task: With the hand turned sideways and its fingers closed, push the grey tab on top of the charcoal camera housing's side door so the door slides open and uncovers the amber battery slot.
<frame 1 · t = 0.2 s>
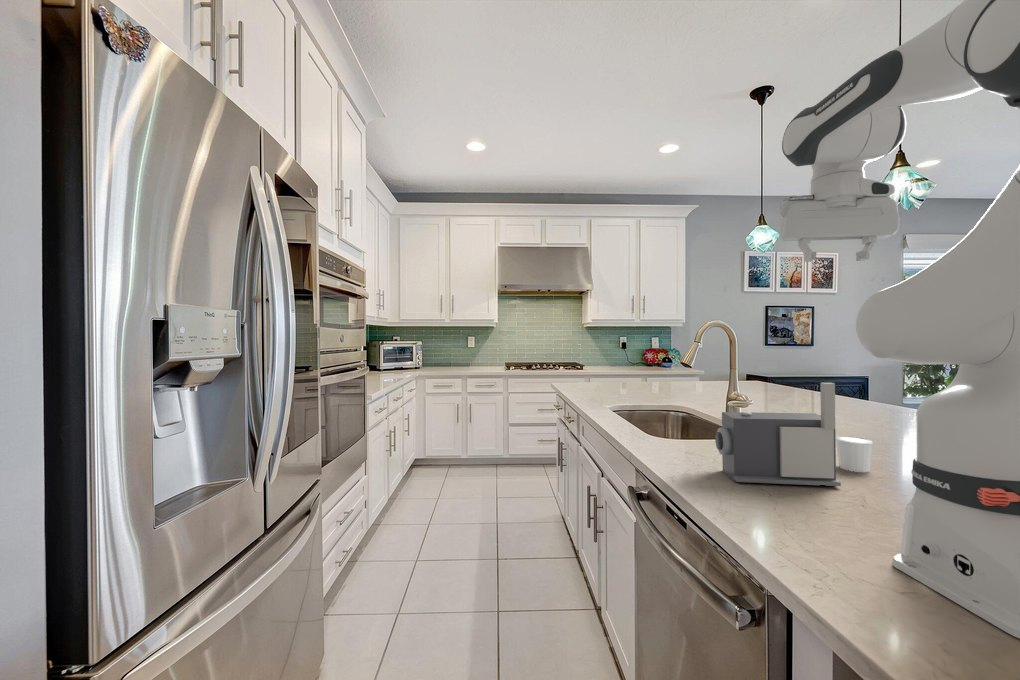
hand: (836, 260, 86), 47 cm above the countertop, tool pointing down, fingers open, 8 cm apart
camera housing: (775, 477, 95), on the countertop
side door: (806, 430, 89), point 12 cm above the countertop, slide at 0.0 cm
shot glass: (854, 469, 100), on the countertop
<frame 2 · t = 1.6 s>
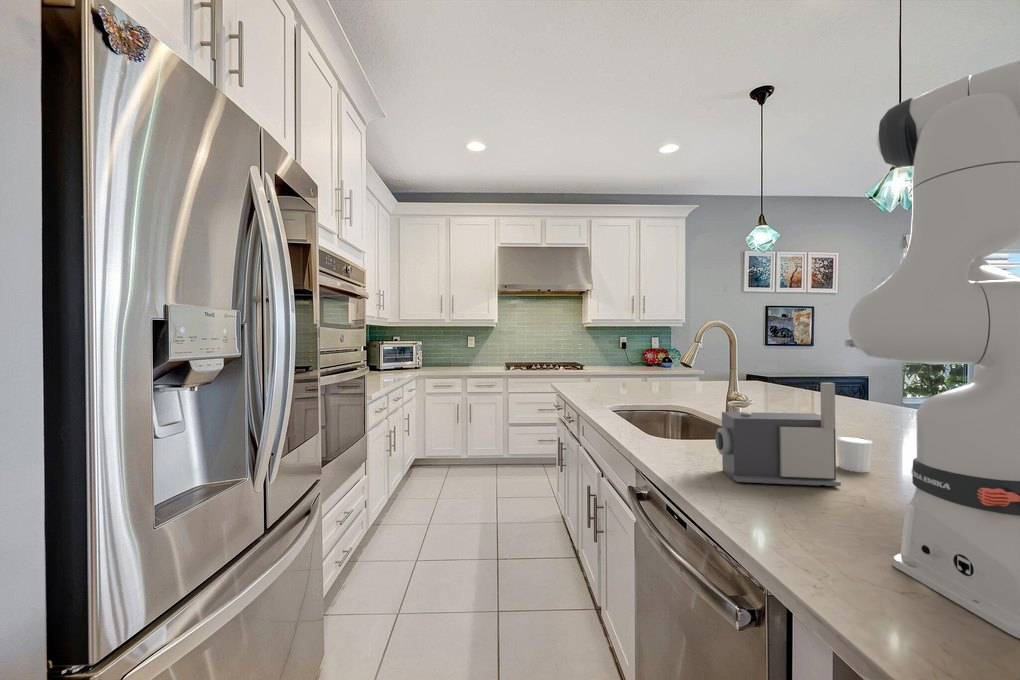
hand: (859, 343, 87), 30 cm above the countertop, tool horizontal, fingers open, 7 cm apart
nothing on the countertop moved.
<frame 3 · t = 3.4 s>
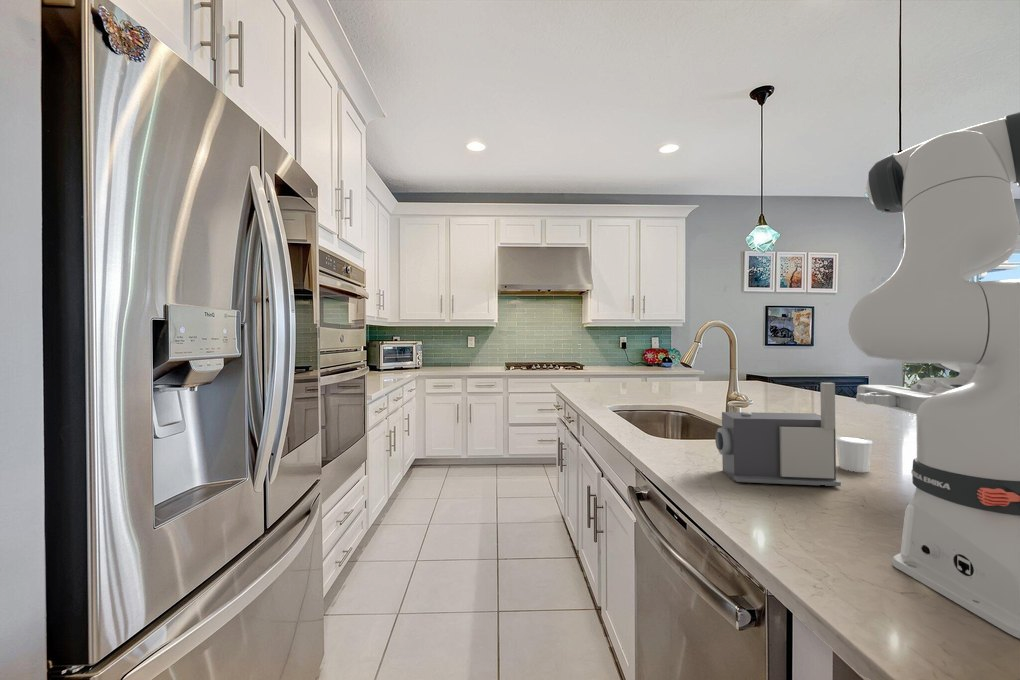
hand: (860, 398, 87), 19 cm above the countertop, tool horizontal, fingers closed
nothing on the countertop moved.
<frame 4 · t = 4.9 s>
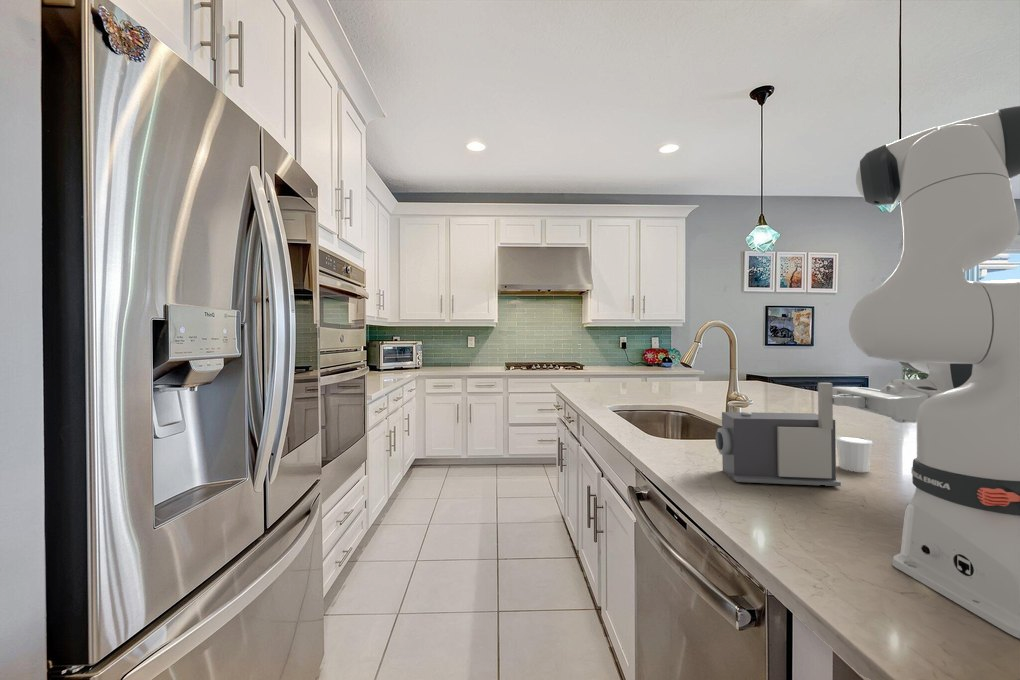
hand: (831, 400, 88), 18 cm above the countertop, tool horizontal, fingers closed, pressing on side door
side door: (804, 430, 89), point 12 cm above the countertop, slide at 0.5 cm, touching gripper
everything else where it was.
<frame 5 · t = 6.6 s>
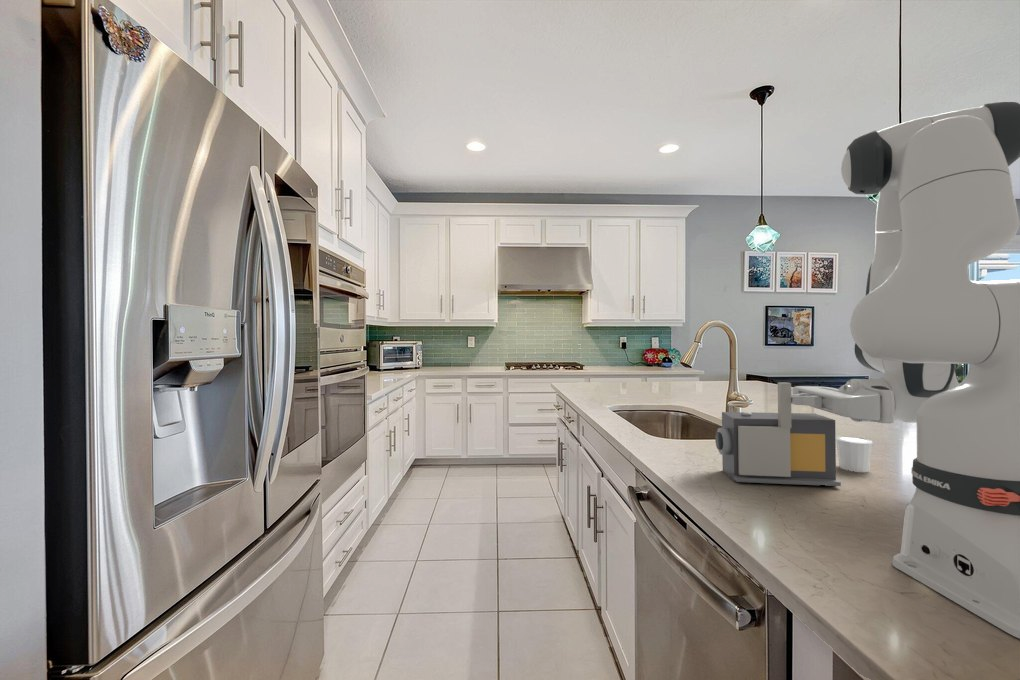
hand: (789, 399, 89), 18 cm above the countertop, tool horizontal, fingers closed, pressing on side door
side door: (764, 429, 90), point 12 cm above the countertop, slide at 8.3 cm, touching gripper
everything else where it was.
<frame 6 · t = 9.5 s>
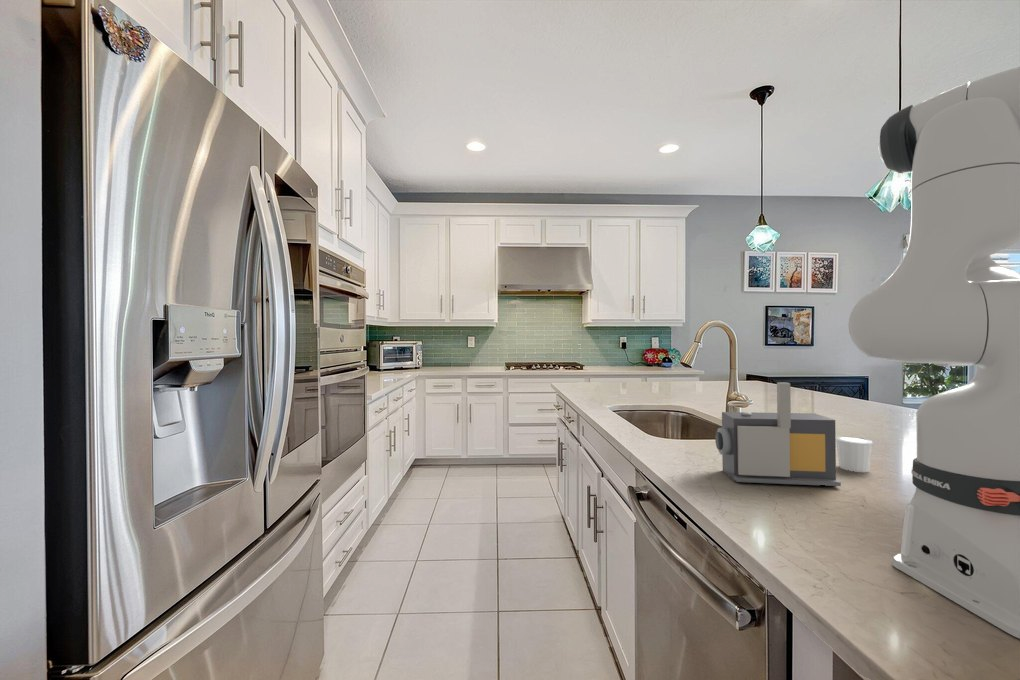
hand: (871, 345, 86), 30 cm above the countertop, tool horizontal, fingers closed
side door: (763, 429, 90), point 12 cm above the countertop, slide at 8.4 cm
everything else where it was.
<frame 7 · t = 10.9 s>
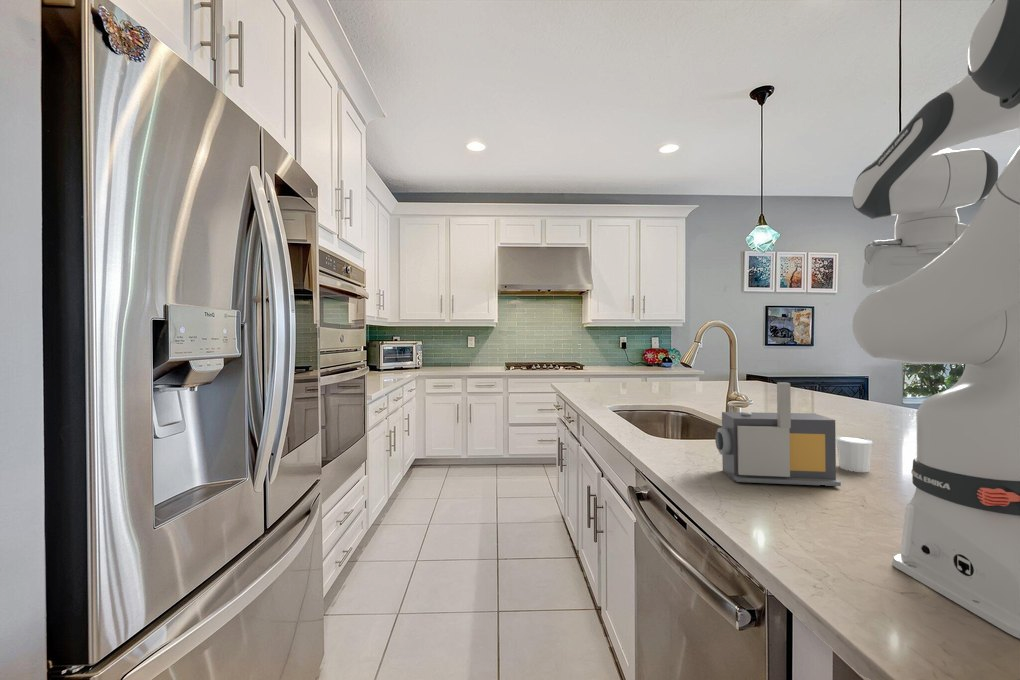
hand: (926, 309, 81), 37 cm above the countertop, tool pointing down, fingers closed
nothing on the countertop moved.
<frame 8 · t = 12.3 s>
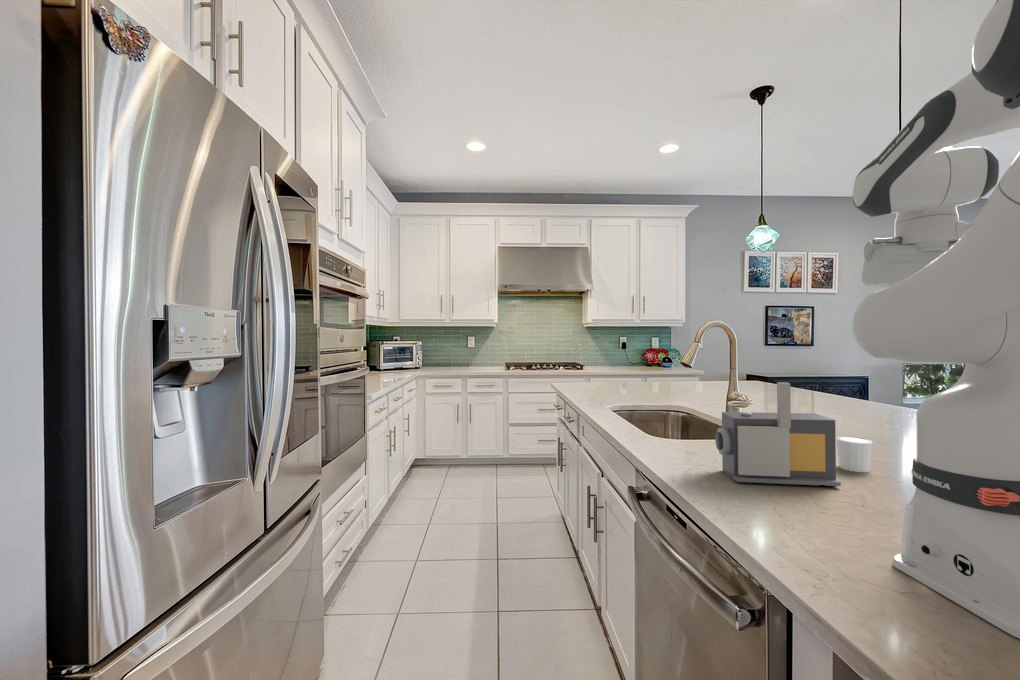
hand: (926, 307, 81), 37 cm above the countertop, tool pointing down, fingers closed
nothing on the countertop moved.
at the end: side door slide at 8.4 cm; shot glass moved 0.2 cm from its start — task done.
